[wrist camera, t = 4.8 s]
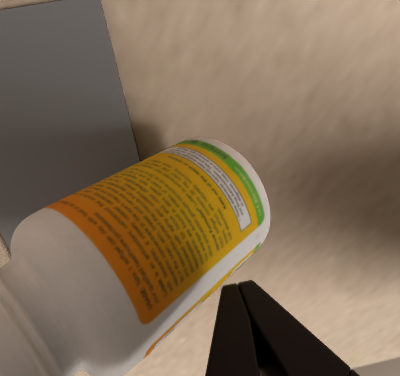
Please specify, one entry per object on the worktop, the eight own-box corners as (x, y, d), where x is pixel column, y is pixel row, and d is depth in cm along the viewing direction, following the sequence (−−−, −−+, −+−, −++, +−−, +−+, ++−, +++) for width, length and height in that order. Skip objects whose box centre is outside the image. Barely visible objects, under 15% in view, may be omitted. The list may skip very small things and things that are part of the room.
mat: (99, -5, 12) (98, -6, 12) (176, 309, 20) (177, 313, 19) (-99, 26, 12) (-105, 27, 12) (55, 334, 19) (54, 338, 19)
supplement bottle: (170, 117, 14) (-119, 234, 8) (285, 160, 11) (-36, 393, 5) (175, 218, 17) (-34, 357, 11) (266, 272, 14) (50, 502, 8)
